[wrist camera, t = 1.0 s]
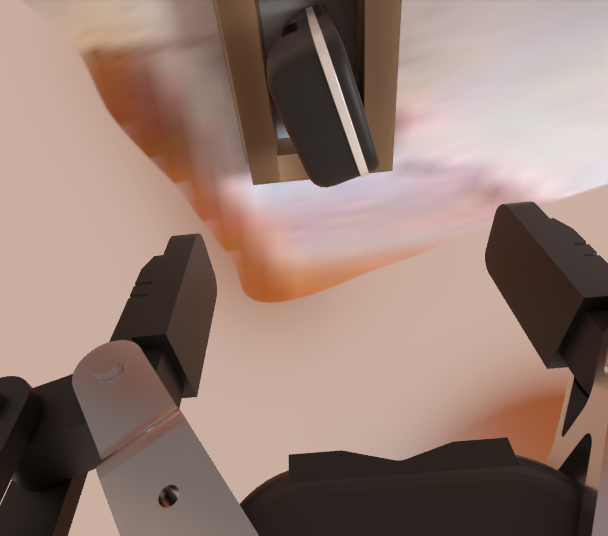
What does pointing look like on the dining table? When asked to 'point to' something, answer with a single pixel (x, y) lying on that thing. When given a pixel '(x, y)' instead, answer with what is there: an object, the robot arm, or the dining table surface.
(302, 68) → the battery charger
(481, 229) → the dining table surface
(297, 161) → the frame
